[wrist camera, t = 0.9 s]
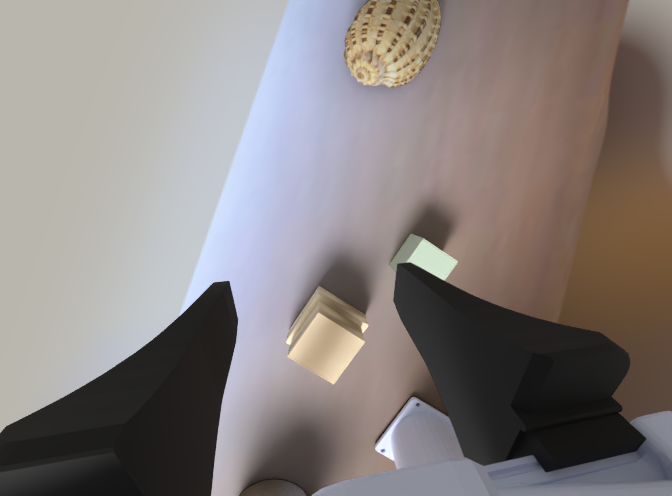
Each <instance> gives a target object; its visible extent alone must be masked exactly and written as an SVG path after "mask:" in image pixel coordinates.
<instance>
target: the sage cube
mask: <svg viewBox="0 0 672 496" xmlns="http://www.w3.org/2000/svg"><path fill="white" fill-rule="evenodd" d="M408 262H411V263H413V264H415V265H417V266H419V267H421V268H422V269H424V270H426V271H428V272H429V273H431V274H433V275H435V276H437V277H438V278H440V279H442V280H445V279H446V278H447V276H448V275H449V273H450V272H451V271H452V269H453V268H454V267H455V265H456V264H457V263H458V261H456V260H455V259H453V258H452V257H450V256H449V255H447V254H446V253H444V252H443V251H441V250H440V249H438V248H437V247H435V246H434V245H433V244H431V243H430V242H428V241H427V240H425V239H424V238H421V237H419V236H416V235H413V234H410V235H409V237H408V238H407V240H406V241H405V243H404V244H403V245H402V247H401V248H400V250H399V251H398V253H397V254H396V255H395V257H394V258H393V260H392V261H391V263H390V264H389V265H390V267H391V268H392V269H393V270H394V271H395V272H396V270H397V264H398V263H408Z"/></svg>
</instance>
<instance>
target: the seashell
mask: <svg viewBox="0 0 672 496" xmlns="http://www.w3.org/2000/svg"><path fill="white" fill-rule="evenodd" d="M440 22H441V14H440V7H439V3H438V1H437V0H370V1H368V2H366V3H365V4H364V5H363V6H362V7H361V9H360V10H359V12H358V13H357V15H356V17H355V20H354V22H353V23H352V25H351V26H350V28H349V30H348V32H347V35H346V37H345V47H346V49H345V52H344V57H345V59H346V65H347V67H349V68H350V71H351V76H354V77H355V78H356V79H357V82H362V83H363V85H365V86H366V85H372V86H378V85H380V84H384V85H386V86H388V87H389V88H392V87H398V86H402V85H404V84H406V83H408V82H410V81H411V80H412V79H413V78H415V76H416V75H417V74H418V73H419V72H420V71H421V70H422V68H423V67H424V66H425V64H426V63H427V61H428V60H429V58H430V56H431V54H432V52H433V50H434V48H435V45H436V42H437V38H438V34H439V30H440Z"/></svg>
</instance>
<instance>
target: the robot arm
mask: <svg viewBox="0 0 672 496" xmlns="http://www.w3.org/2000/svg"><path fill="white" fill-rule="evenodd" d="M393 301H394V303H395V306H396V309H397V311H398V314H399V316H400V318H401V321H402V322H403V324H404V326H405V328H406V330H407V331H408V333H409V335H410V337H411V338H412V340H413V342H414V344H415V345H416V347H417V349H418V351H419V352H420V354H421V356H422V358H423V359H424V361H425V363H426V365H427V367H428V369H429V371H430V373H431V375H432V378H433V380H434V382H435V385H436V387H437V389H438V391H439V394H440V396H441V399H442V401H443V403H444V406H445V408H446V411H447V413H448V416H449V417H448V416H446V415H445V414H443V413H441V412H440V411H438V410H436V409H435V408H433V407H431V406H430V405H428V404H426V403H425V402H423V401H421V400H419V399H418V398H416V397H412V398H410V400H409V401H408V402H407V404H406V405H405V406H404V407H403V409H402V410H401V411H400V413H399V414H398V415H397V417H396V418H395V419H394V421H393V422H392V423H391V424H390V426H389V427H388V428H387V430H386V431H385V432H384V434H383V435H382V436H381V438H380V439H379V440H378V441H377V443H376V444H375V450H376V451H377V452H379V453H381V454H383V455H384V456H386V457H388V458H390V459H391V460H393V461H395V464H396V468H397V469H396V470H391V471H386V472H382V473H377V474H372V475H368V476H363V477H358V478H354V479H349V480H344V481H341V482H338V483H335V484H333V485H330V486H327V487H324V488H321V489H320V490H318V491H317V492H316V493H314V494H313V495H312V496H672V412H671V411H664V412H659V413H655V414H650V415H645V416H641V417H638V418H635V419H634V420H632V421H631V422H628V421H627V420H626V419H625V418H624V417H622V416H621V415H620V414H619V413H618V412H621V411H622V406H621V405H620V404H619V403H617V401H615V400H614V399H613V398H612V397H611V396H612V395H613V393H614V392H615V390H616V389H617V388H618V386H619V385H620V383H621V382H622V380H623V378H624V377H625V376H626V374H627V372H628V370H629V366H630V358H629V354H628V353H627V352H626V351H625V350H624V349H622V348H621V347H619V346H618V345H617V344H615V343H614V342H613V341H611V340H610V339H608V338H607V337H606V336H604V335H603V334H601V333H600V332H595V331H590V330H585V329H580V328H575V327H570V326H565V325H561V324H557V323H553V322H549V321H545V320H541V319H537V318H534V317H531V316H527V315H524V314H521V313H518V312H515V311H512V310H509V309H506V308H503V307H500V306H497V305H495V304H492V303H490V302H487V301H485V300H482V299H480V298H478V297H476V296H473V295H471V294H469V293H467V292H465V291H463V290H461V289H459V288H457V287H455V286H453V285H451V284H449V283H447V282H446V281H444V280H442V279H440V278H438V277H437V276H435V275H433V274H431V273H429V272H428V271H426V270H424V269H422V268H421V267H419V266H417V265H415V264H413V263H411V262H408V263H398V264H397V270H396V280H395V290H394V300H393ZM237 326H238V317H237V313H236V308H235V304H234V300H233V295H232V291H231V286H230V282H229V281H224V282H215V283H213V284H212V285H211V286H210V287H209V288H208V289H207V290H206V291H205V292H204V293H203V294H202V295H201V296H200V297H199V298H198V299H197V300H196V301H195V302H194V303H193V304H192V305H191V306H190V307H189V308H188V309H187V310H186V311H185V312H184V313H183V314H182V315H181V316H179V317H178V318H177V319H176V320H175V321H174V322H173V323H172V324H170V325H169V326H168V327H167V328H166V329H165V330H164V331H163V332H161V333H160V334H159V335H158V336H157V337H155V338H154V339H153V340H152V341H150V342H149V343H148V344H146V345H145V346H144V347H142V348H141V349H140V350H138V351H137V352H136V353H134V354H133V355H131V356H130V357H128V358H127V359H125V360H124V361H122V362H121V363H119V364H118V365H116V366H115V367H113V368H112V369H111V370H109V371H107V372H106V373H104V374H103V375H101V376H99V377H98V378H96V379H94V380H93V381H91V382H89V383H88V384H86V385H84V386H82V387H81V388H79V389H77V390H75V391H74V392H72V393H70V394H69V395H67V396H65V397H63V398H61V399H60V400H57V401H56V402H54V403H52V404H50V405H48V406H46V407H44V408H42V409H40V410H38V411H36V412H34V413H32V414H30V415H28V416H26V417H24V418H22V419H20V420H18V421H16V422H14V423H12V424H10V425H8V426H6V427H5V429H3V431H2V432H1V433H0V496H211V489H212V479H213V469H214V459H215V451H216V442H217V434H218V426H219V419H220V411H221V404H222V399H223V394H224V390H225V385H226V381H227V377H228V373H229V369H230V365H231V361H232V356H233V352H234V348H235V343H236V336H237ZM417 403H419V404H418V405H416V404H417ZM382 449H383V450H382Z"/></svg>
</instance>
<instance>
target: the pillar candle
mask: <svg viewBox="0 0 672 496" xmlns="http://www.w3.org/2000/svg"><path fill="white" fill-rule="evenodd" d="M240 496H307V495H306V494H305V492H304V491H303V490H302V489H301V488H300V487H298V486H297V485H295V484H293V483H291V482H288V481H285V480H277V479H273V480H264V481H261V482H258V483H256V484H254V485H252V486H250V487H248V488H247V489H245V490H244V491H243V492H242V493H241V494H240Z"/></svg>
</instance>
